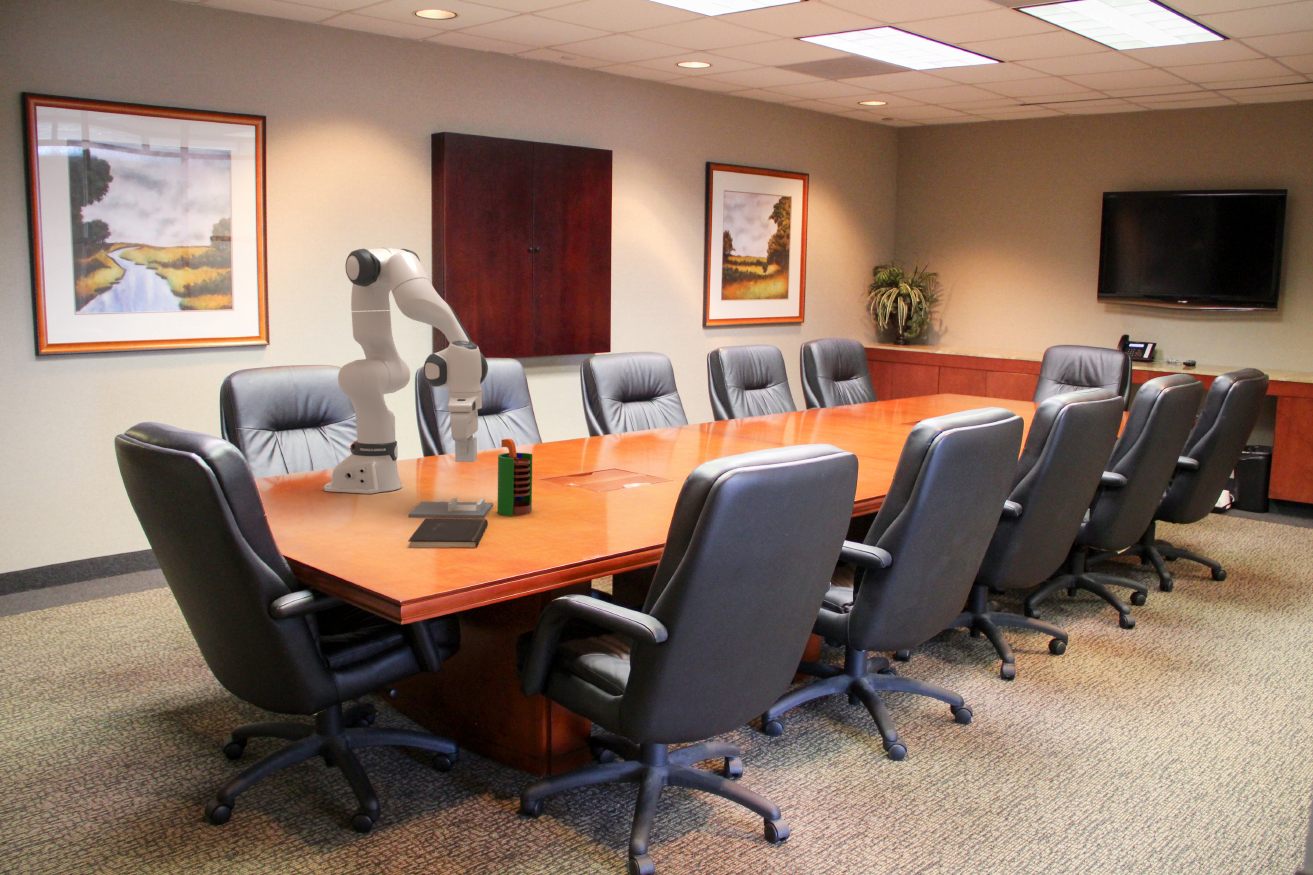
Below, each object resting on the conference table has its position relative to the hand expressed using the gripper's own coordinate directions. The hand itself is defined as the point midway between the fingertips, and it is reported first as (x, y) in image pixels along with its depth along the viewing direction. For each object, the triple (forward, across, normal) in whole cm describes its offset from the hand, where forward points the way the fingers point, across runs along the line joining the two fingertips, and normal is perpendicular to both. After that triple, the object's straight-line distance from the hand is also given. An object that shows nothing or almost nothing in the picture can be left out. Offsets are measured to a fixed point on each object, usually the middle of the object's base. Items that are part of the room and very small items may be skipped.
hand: (465, 452), depth 287 cm
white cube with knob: (+2, 0, 0) cm, 2 cm away
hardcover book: (+17, +28, +1) cm, 33 cm away
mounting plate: (+16, 0, -4) cm, 17 cm away
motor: (+16, 0, +13) cm, 21 cm away
